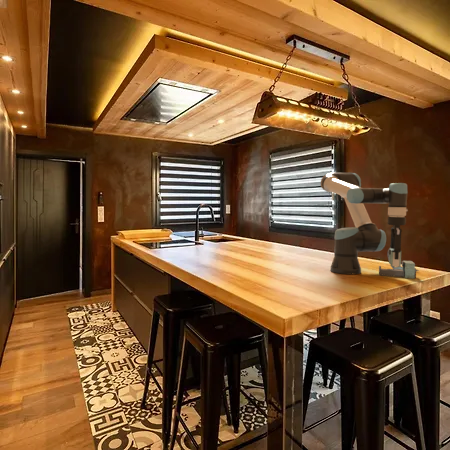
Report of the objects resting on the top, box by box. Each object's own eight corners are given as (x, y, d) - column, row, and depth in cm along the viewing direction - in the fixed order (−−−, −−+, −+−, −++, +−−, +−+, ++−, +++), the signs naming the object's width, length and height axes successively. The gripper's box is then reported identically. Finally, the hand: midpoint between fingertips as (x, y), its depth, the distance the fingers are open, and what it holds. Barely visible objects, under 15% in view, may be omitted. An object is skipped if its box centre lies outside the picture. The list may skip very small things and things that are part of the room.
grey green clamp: (379, 276, 159) (380, 261, 159) (378, 273, 166) (378, 259, 166) (416, 278, 153) (417, 263, 153) (413, 275, 161) (414, 261, 160)
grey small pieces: (386, 249, 178) (416, 250, 175) (385, 269, 179) (415, 270, 175) (390, 252, 169) (422, 252, 165) (390, 272, 169) (422, 273, 166)
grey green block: (398, 263, 155) (398, 248, 154) (400, 266, 148) (401, 251, 147) (387, 263, 157) (387, 248, 156) (389, 266, 149) (389, 250, 149)
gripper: (410, 217, 139) (407, 269, 141) (402, 215, 158) (400, 261, 160) (390, 217, 142) (388, 268, 144) (385, 215, 161) (383, 260, 163)
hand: (394, 264), depth 152 cm, fingers closed on grey green block, 8 cm apart
